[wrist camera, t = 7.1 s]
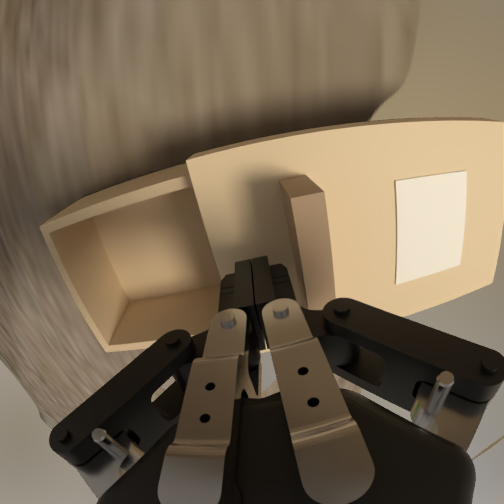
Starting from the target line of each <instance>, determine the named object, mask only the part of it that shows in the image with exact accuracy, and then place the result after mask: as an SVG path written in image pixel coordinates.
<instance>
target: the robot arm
mask: <svg viewBox="0 0 504 504" xmlns="http://www.w3.org/2000/svg"><path fill="white" fill-rule="evenodd" d="M265 341H266V345H267V349H270V352H271V356H272V360H273V364H274V369H275V373H276V377H277V381H278V385H279V389H280V392H278V393H275V394H273V395H270V396H268V397H265V398H261V369H262V367H261V362H260V351H261V350H266V345H265ZM333 373H335V374H337V375H338V376H340V377H342V378H344V379H346V380H348V381H350V382H352V383H353V384H355V385H357V386H359V387H361V388H363V389H365V390H367V391H369V392H371V393H373V394H375V395H377V396H379V397H381V398H383V399H385V400H387V401H389V402H391V403H393V404H395V405H397V406H399V407H401V408H403V409H406V410H408V411H410V412H411V419H412V422H413V423H412V422H410V421H408V420H406V419H405V418H403V417H400V416H399V415H397V414H395V413H393V412H391V411H390V410H388V409H386V408H384V407H382V406H381V405H379V404H377V403H375V402H373V401H372V400H370V399H368V398H366V397H364V396H363V395H361V394H358V393H356V392H354V391H350V390H347V389H341V388H339V386H338V384H337V382H336V379H335V377H334V375H333ZM171 376H173V377H174V379H175V382H174V383H173V384H172V385H171V386H170V387H168V388H167V389H166V390H165V391H164V392H163V393H162V394H161V395H160V396H159V397H158V398H157V399H156V400H155V401H154V402H151V397H152V395H153V393H154V392H155V391H156V390H157V389H158V388H159V387H160V386H162V384H164V383H165V382H166V381H167V380H168V379H169V378H170V377H171ZM503 381H504V357H503V356H502V355H501V354H500V353H499V352H497V351H495V350H492V349H489V348H487V347H484V346H481V345H478V344H475V343H472V342H470V341H467V340H464V339H461V338H459V337H456V336H453V335H450V334H447V333H445V332H442V331H439V330H436V329H433V328H431V327H428V326H425V325H422V324H420V323H417V322H414V321H411V320H409V319H406V318H403V317H400V316H398V315H395V314H392V313H390V312H387V311H384V310H381V309H379V308H376V307H373V306H370V305H368V304H365V303H362V302H360V301H357V300H354V299H351V298H337V299H333V300H331V301H329V302H328V303H327V304H326V305H325V306H324V307H323V310H309V309H306V308H303V307H301V306H300V305H299V304H298V303H297V301H296V297H295V294H294V290H293V287H292V283H291V280H290V277H289V273H288V270H287V268H286V267H285V266H284V265H282V264H281V263H279V264H275V265H270V266H269V261H268V257H267V255H266V256H261V257H256V258H252V262H251V259H247V260H243V261H238V262H235V273H232V274H227V275H225V277H224V278H223V279H222V281H221V285H220V296H219V307H218V313H217V314H216V315H215V316H214V317H213V318H212V319H211V321H210V325H209V329H208V330H206V331H204V332H202V333H199V334H197V335H194V336H192V337H191V335H190V333H189V332H188V331H186V330H183V329H176V330H172V331H169V332H167V333H165V334H164V335H163V336H161V337H160V338H159V339H158V340H157V341H155V342H154V343H153V344H152V345H151V346H150V347H148V348H147V349H146V350H145V351H144V352H143V353H141V354H140V355H139V356H138V357H137V358H135V359H134V360H133V361H132V362H131V363H130V364H128V365H127V366H126V367H125V368H124V369H122V370H121V371H120V372H119V373H118V374H117V375H115V376H114V377H113V378H112V379H111V380H109V381H108V382H107V383H106V384H105V385H104V386H102V387H101V388H100V389H99V390H98V391H96V392H95V393H94V394H93V395H92V396H91V397H89V398H88V399H87V400H86V401H85V402H83V403H82V404H81V405H80V406H79V407H77V408H76V409H75V410H74V411H73V412H72V413H70V414H69V415H68V416H67V417H66V418H64V419H63V420H62V421H61V422H60V423H58V424H57V425H56V426H55V427H54V428H53V430H52V431H51V434H50V438H49V443H50V447H51V448H52V450H53V451H55V452H56V453H57V454H58V455H60V456H61V457H62V458H64V459H65V460H66V461H67V462H68V463H69V464H70V465H72V466H73V467H75V468H76V469H77V470H78V472H79V473H80V475H81V476H82V478H83V479H84V481H85V482H86V483H87V485H88V486H89V487H90V488H91V490H92V491H93V493H94V494H95V495H96V497H97V498H98V499H99V500H98V502H97V504H472V498H473V492H474V487H475V481H476V473H475V468H474V464H473V462H472V459H471V458H470V456H469V455H468V453H467V452H466V451H467V449H468V447H469V445H470V443H471V441H472V439H473V437H474V435H475V433H476V430H477V428H478V426H479V424H480V421H481V419H482V416H483V414H484V411H485V409H486V408H487V406H488V405H489V403H490V402H491V400H492V399H493V397H494V396H495V394H496V393H497V391H498V389H499V388H500V386H501V384H502V382H503Z"/></svg>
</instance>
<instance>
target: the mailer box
mask: <svg viewBox="0 0 504 504" xmlns="http://www.w3.org/2000/svg"><path fill="white" fill-rule="evenodd" d="M39 227H40V230H41V232H42V235H43V237H44V239H45V242H46V244H47V246H48V248H49V251H50V253H51V255H52V257H53V259H54V262H55V264H56V266H57V268H58V270H59V272H60V274H61V276H62V278H63V280H64V282H65V284H66V286H67V288H68V290H69V292H70V293H71V295H72V297H73V299H74V301H75V303H76V304H77V306H78V308H79V310H80V311H81V313H82V315H83V316H84V318H85V320H86V322H87V323H88V325H89V326H90V328H91V330H92V331H93V333H94V335H95V336H96V338H97V339H98V341H99V342H100V344H101V345H102V347H103V348H104V350H105V351H106V352H114V351H125V350H135V349H145V348H148V347H150V346H151V345H152V344H153V343H154V342H155V341H157V340H158V339H159V338H160V337H161V336H163V335H164V334H165V333H167V332H169V331H172V330H176V329H183V330H186V331H188V332H189V333H190V335H191V337H192V336H194V335H197V334H199V333H202V332H204V331H206V330H208V329H209V325H210V321H211V319H212V318H213V317H214V316H215V315H216V314H217V313H218V307H219V296H220V285H221V281H222V280H221V277H220V274H219V271H218V268H217V264H216V261H215V258H214V255H213V252H212V248H211V245H210V242H209V239H208V235H207V232H206V229H205V226H204V222H203V219H202V215H201V212H200V209H199V205H198V202H197V198H196V195H195V192H194V188H193V185H192V181H191V178H190V174H189V170H188V167H187V163H183V164H180V165H176V166H173V167H170V168H166V169H163V170H160V171H157V172H153V173H150V174H147V175H144V176H141V177H138V178H135V179H132V180H129V181H126V182H123V183H120V184H117V185H115V186H112V187H109V188H106V189H104V190H101V191H98V192H96V193H93V194H90V195H88V196H85V197H83V198H81V199H79V200H78V201H76V202H75V203H73V204H72V205H70V206H68V207H67V208H65V209H64V210H62V211H61V212H59V213H58V214H56V215H55V216H53V217H52V218H50V219H49V220H48V221H46V222H45V223H43V224H42V225H40V226H39Z"/></svg>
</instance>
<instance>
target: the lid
mask: <svg viewBox="0 0 504 504" xmlns="http://www.w3.org/2000/svg"><path fill="white" fill-rule="evenodd" d="M186 163H187V167H188V170H189V174H190V178H191V181H192V185H193V188H194V192H195V195H196V198H197V202H198V205H199V209H200V212H201V215H202V219H203V222H204V226H205V229H206V232H207V235H208V239H209V242H210V245H211V248H212V252H213V255H214V258H215V261H216V264H217V268H218V271H219V274H220V277H221V280H222V279H223V278H224V277H225V275H227V274H232V273H235V262H238V261H243V260H247V259H251V262H252V258H256V257H261V256H266V255H267V257H268V261H269V266H270V265H275V264H279V263H281V264H282V265H284V266H285V267H286V268H287V270H288V273H289V277H290V280H291V283H292V287H293V290H294V294H295V297H296V301H297V303H298V304H299V305H300V306H301V307H303V308H306V309H309V310H323V307H324V306H325V305H326V304H327V303H328V302H329V301H331V300H333V299H337V298H351V299H354V300H357V301H360V302H362V303H365V304H368V305H370V306H373V307H376V308H379V309H381V310H384V311H387V312H390V313H392V314H395V315H398V316H400V317H404V316H407V315H410V314H413V313H416V312H419V311H422V310H425V309H428V308H431V307H433V306H436V305H439V304H442V303H444V302H447V301H450V300H452V299H455V298H457V297H460V296H462V295H465V294H467V293H470V292H472V291H475V290H477V289H479V288H482V287H484V286H486V285H489V284H491V283H492V282H493V278H494V274H495V269H496V264H497V259H498V254H499V249H500V242H501V236H502V229H503V221H504V122H503V121H497V120H491V119H486V118H471V117H433V118H407V119H390V120H378V121H367V122H357V123H349V124H340V125H333V126H325V127H319V128H312V129H306V130H300V131H294V132H288V133H283V134H277V135H272V136H267V137H262V138H257V139H253V140H248V141H244V142H239V143H235V144H231V145H226V146H222V147H218V148H214V149H210V150H207V151H203V152H199V153H195V154H193V155H192V156H191V157H189V158H188V159H187V160H186ZM265 345H266V341H265ZM267 351H270V349H267V345H266V350H261V351H260V353H262V352H267Z"/></svg>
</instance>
